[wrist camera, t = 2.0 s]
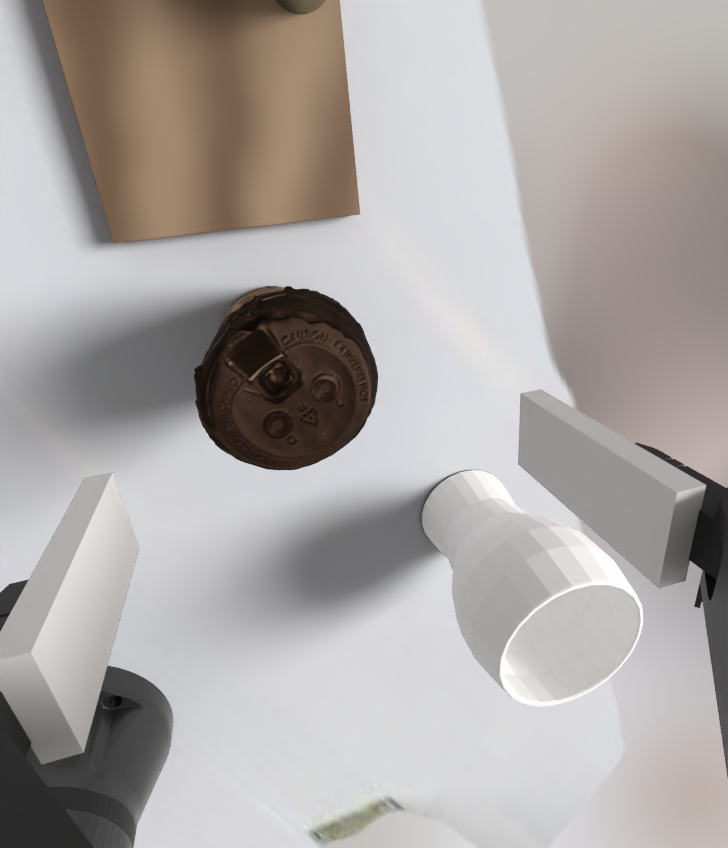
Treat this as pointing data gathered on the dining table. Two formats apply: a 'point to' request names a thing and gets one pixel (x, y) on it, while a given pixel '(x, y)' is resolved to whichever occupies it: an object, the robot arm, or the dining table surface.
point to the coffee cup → (286, 379)
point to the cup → (530, 593)
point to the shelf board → (209, 112)
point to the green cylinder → (300, 5)
